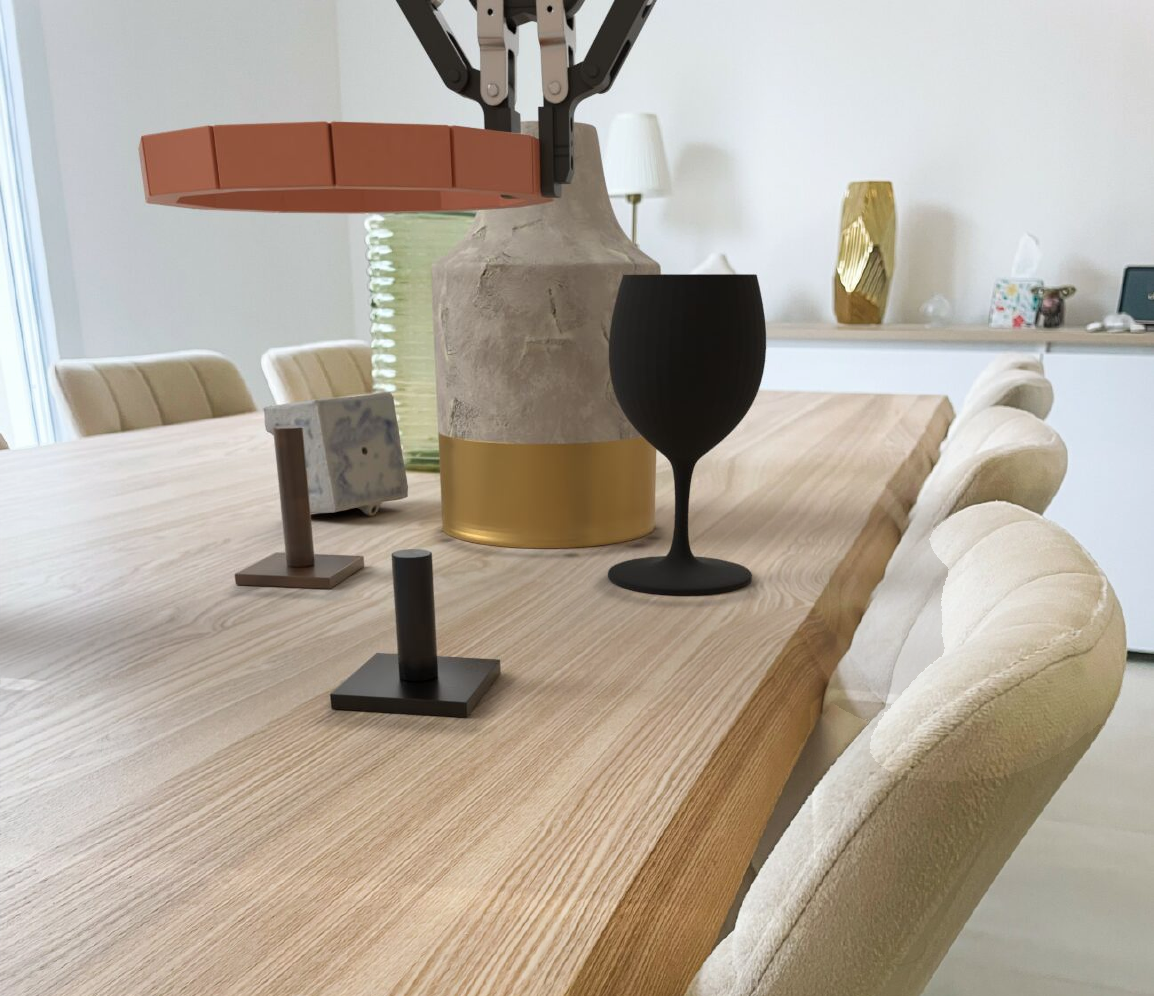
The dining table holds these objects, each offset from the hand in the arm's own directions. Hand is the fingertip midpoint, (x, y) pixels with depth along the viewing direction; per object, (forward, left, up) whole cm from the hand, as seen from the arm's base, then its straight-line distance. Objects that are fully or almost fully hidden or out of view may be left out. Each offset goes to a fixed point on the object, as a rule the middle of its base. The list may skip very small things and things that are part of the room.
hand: (531, 196), depth 56 cm
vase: (-7, +38, -24) cm, 45 cm away
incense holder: (-27, +41, -24) cm, 54 cm away
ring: (-9, 0, 0) cm, 9 cm away
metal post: (-5, -6, -23) cm, 25 cm away
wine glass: (+6, +21, -24) cm, 32 cm away
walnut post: (-21, +17, -23) cm, 36 cm away
